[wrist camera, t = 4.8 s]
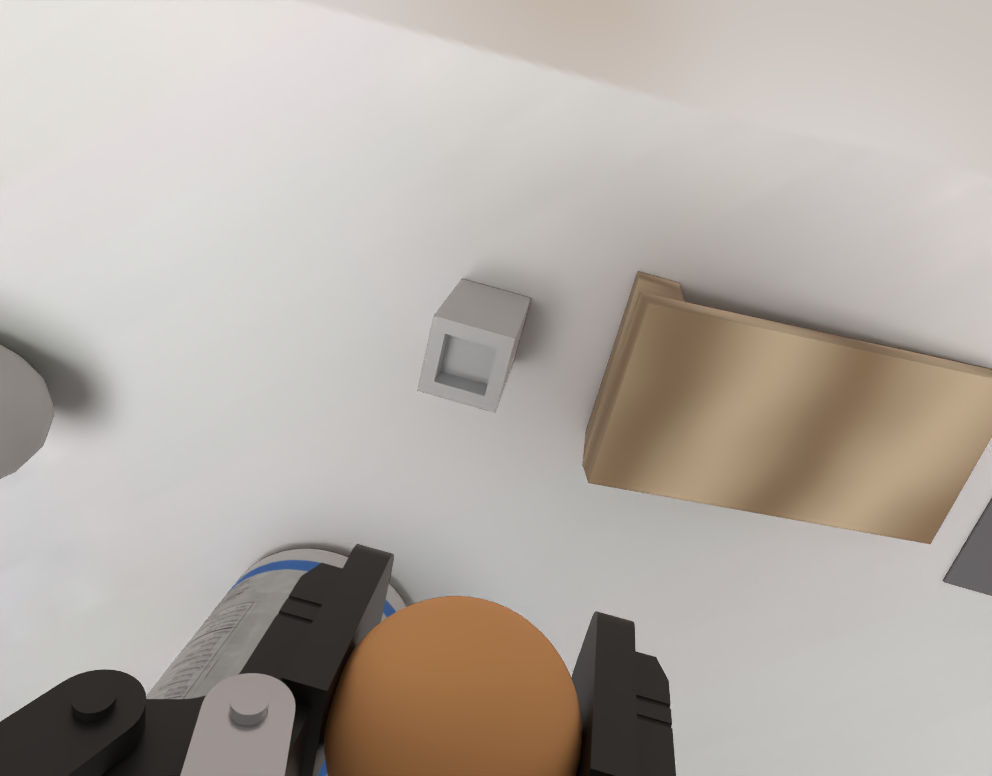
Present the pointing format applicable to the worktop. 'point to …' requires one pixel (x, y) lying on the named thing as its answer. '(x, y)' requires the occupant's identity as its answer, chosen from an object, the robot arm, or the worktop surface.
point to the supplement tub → (245, 624)
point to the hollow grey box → (473, 345)
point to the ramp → (783, 419)
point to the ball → (454, 697)
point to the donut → (21, 411)
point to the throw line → (975, 558)
